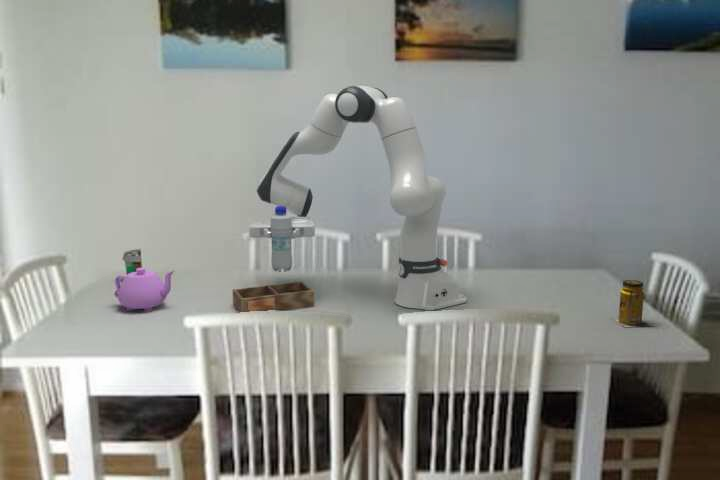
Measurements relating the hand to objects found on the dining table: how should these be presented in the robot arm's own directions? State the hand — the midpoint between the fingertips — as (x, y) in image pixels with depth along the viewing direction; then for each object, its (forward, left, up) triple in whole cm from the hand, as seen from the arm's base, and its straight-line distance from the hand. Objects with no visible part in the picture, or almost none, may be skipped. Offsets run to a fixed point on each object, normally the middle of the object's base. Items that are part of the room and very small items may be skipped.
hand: (281, 234), depth 198 cm
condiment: (-85, +56, -22) cm, 105 cm away
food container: (+40, -50, -22) cm, 67 cm away
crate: (+3, -1, -22) cm, 22 cm away
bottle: (0, -1, -11) cm, 12 cm away
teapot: (+39, -16, -22) cm, 47 cm away
